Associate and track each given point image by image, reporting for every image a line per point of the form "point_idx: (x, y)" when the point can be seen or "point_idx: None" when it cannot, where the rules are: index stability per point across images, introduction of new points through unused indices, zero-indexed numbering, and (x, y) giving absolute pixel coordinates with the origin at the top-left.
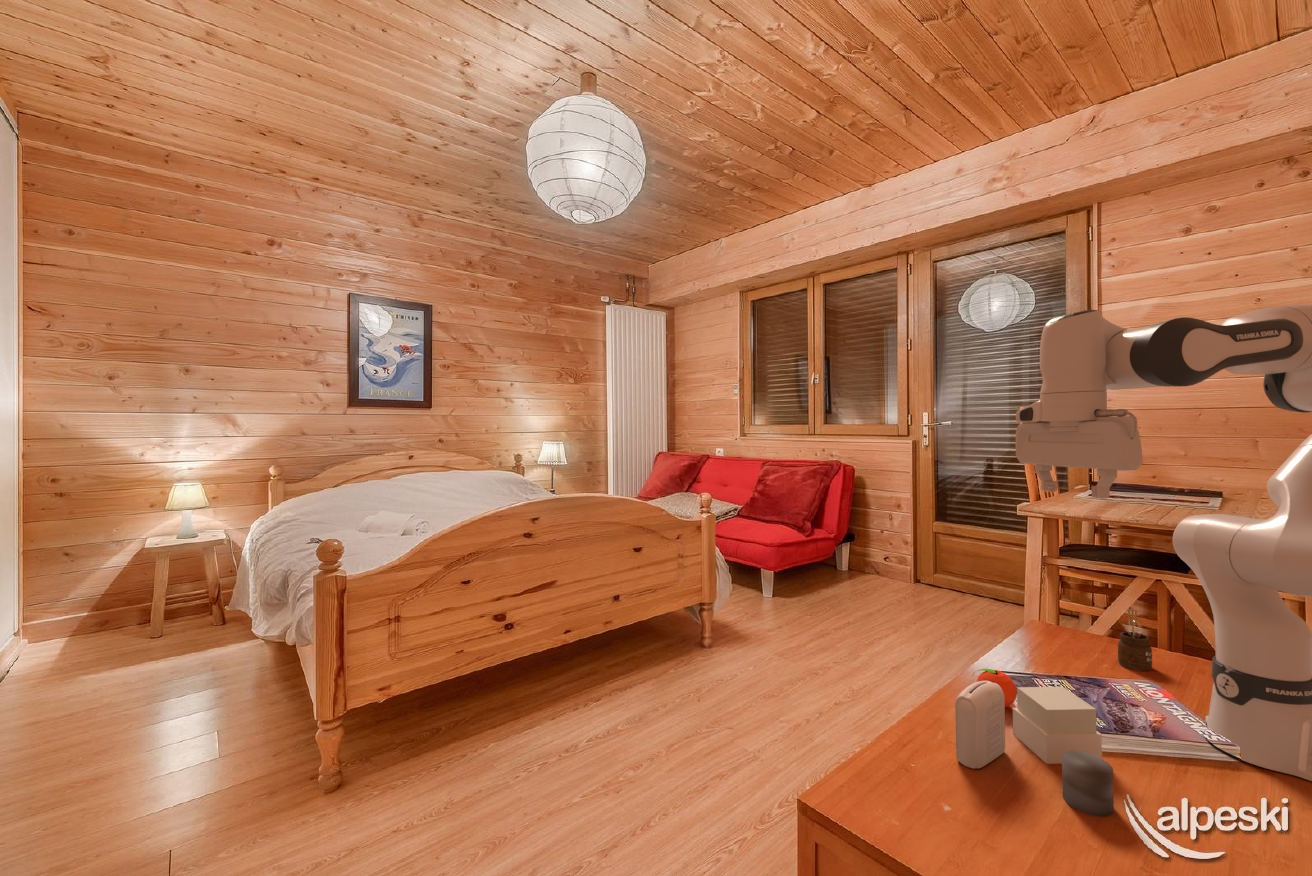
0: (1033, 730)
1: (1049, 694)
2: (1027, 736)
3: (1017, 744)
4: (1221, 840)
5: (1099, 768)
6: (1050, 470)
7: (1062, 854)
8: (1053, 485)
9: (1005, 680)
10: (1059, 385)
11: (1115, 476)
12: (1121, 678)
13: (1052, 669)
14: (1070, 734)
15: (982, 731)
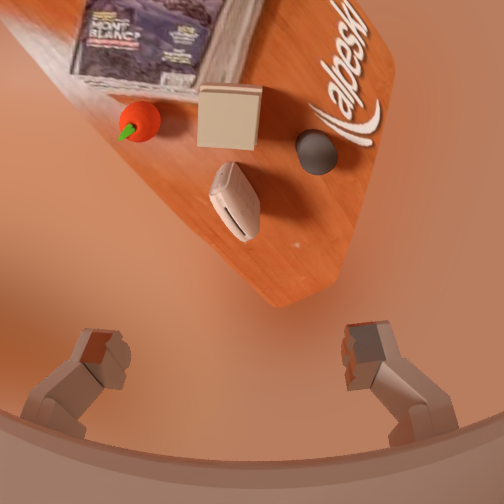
0: None
1: (218, 121)
2: None
3: None
4: (368, 88)
5: (328, 153)
6: (57, 403)
7: (353, 205)
8: (115, 359)
9: (146, 121)
10: None
11: (445, 401)
12: None
13: (70, 14)
14: (258, 120)
15: (257, 212)
